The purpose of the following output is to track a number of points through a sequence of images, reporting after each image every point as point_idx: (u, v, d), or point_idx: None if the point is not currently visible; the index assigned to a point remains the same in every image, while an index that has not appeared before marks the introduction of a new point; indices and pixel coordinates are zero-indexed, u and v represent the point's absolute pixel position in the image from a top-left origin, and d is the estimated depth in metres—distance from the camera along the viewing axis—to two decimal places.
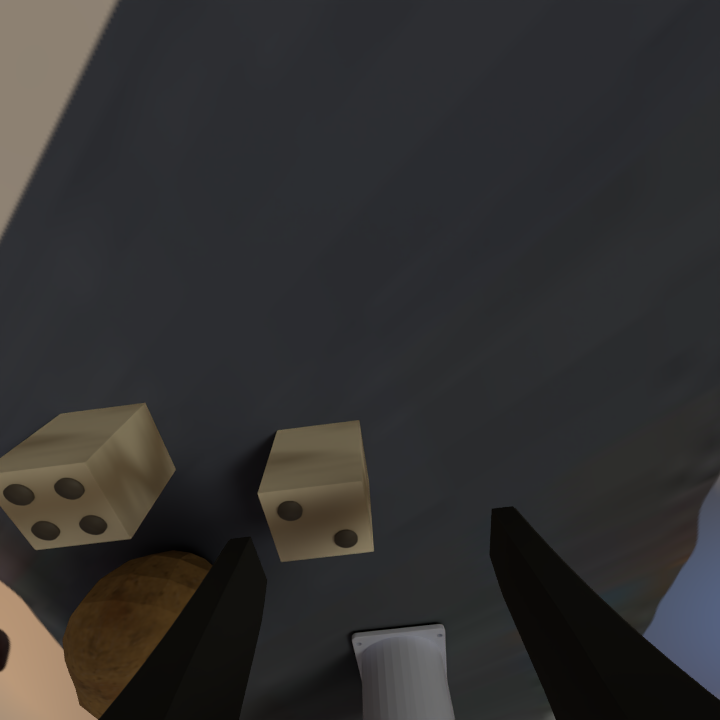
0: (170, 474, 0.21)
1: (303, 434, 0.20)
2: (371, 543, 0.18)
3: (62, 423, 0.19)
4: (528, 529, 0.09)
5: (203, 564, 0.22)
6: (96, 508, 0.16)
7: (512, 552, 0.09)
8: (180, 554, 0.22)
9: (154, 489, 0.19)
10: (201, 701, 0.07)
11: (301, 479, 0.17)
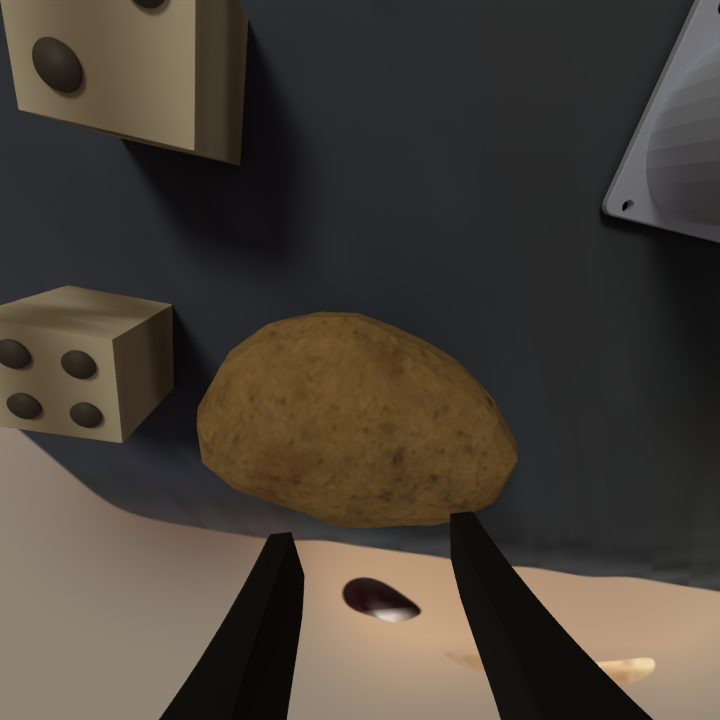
0: (163, 307, 0.17)
1: None
2: None
3: None
4: (482, 534, 0.09)
5: None
6: (50, 346, 0.13)
7: (465, 557, 0.09)
8: None
9: (136, 315, 0.15)
10: (259, 695, 0.07)
11: None
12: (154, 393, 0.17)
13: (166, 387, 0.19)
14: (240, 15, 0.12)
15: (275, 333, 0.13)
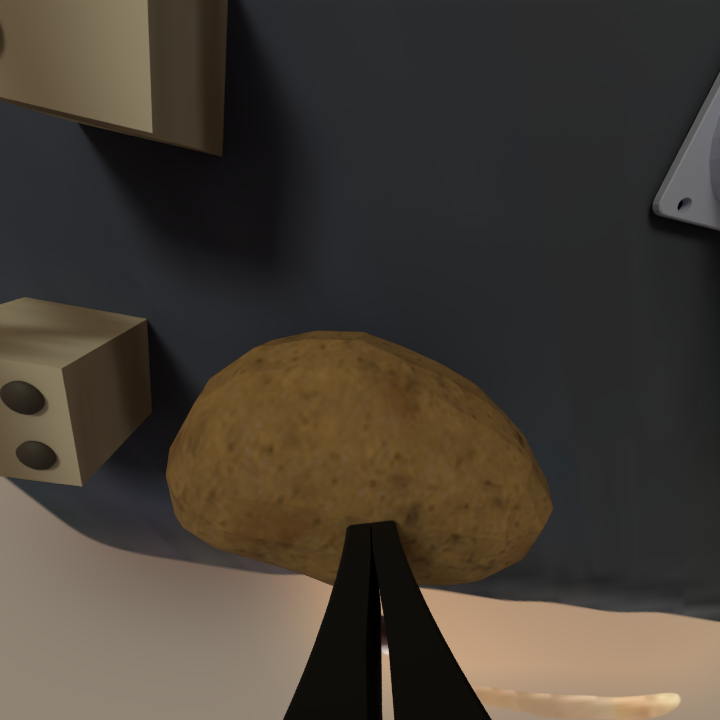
0: (135, 323, 0.15)
1: None
2: None
3: None
4: (394, 545, 0.09)
5: None
6: None
7: None
8: None
9: (99, 334, 0.13)
10: (371, 684, 0.07)
11: None
12: (126, 422, 0.15)
13: (141, 413, 0.16)
14: None
15: (263, 360, 0.11)
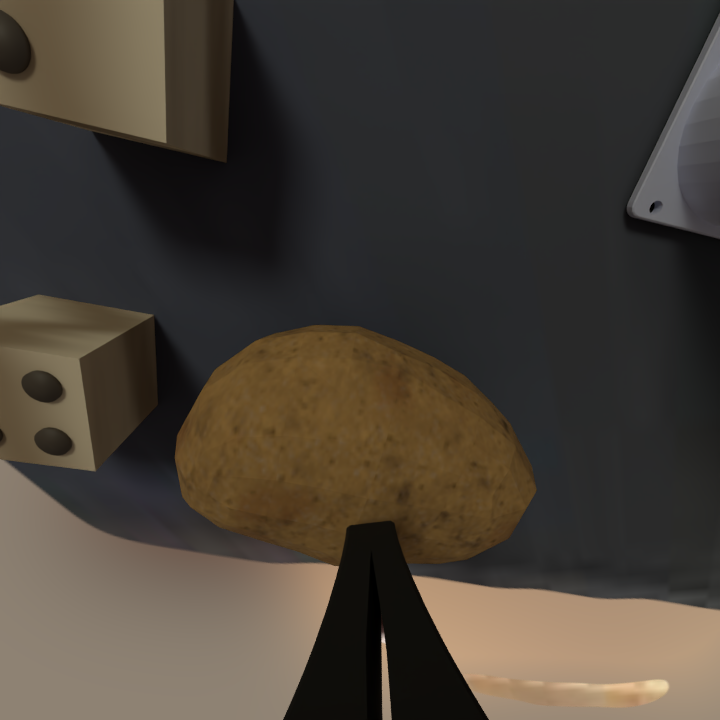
0: (143, 318, 0.15)
1: None
2: None
3: None
4: (392, 545, 0.09)
5: None
6: (9, 365, 0.12)
7: None
8: None
9: (110, 328, 0.14)
10: (372, 683, 0.07)
11: None
12: (134, 412, 0.16)
13: (149, 405, 0.17)
14: None
15: (264, 351, 0.11)
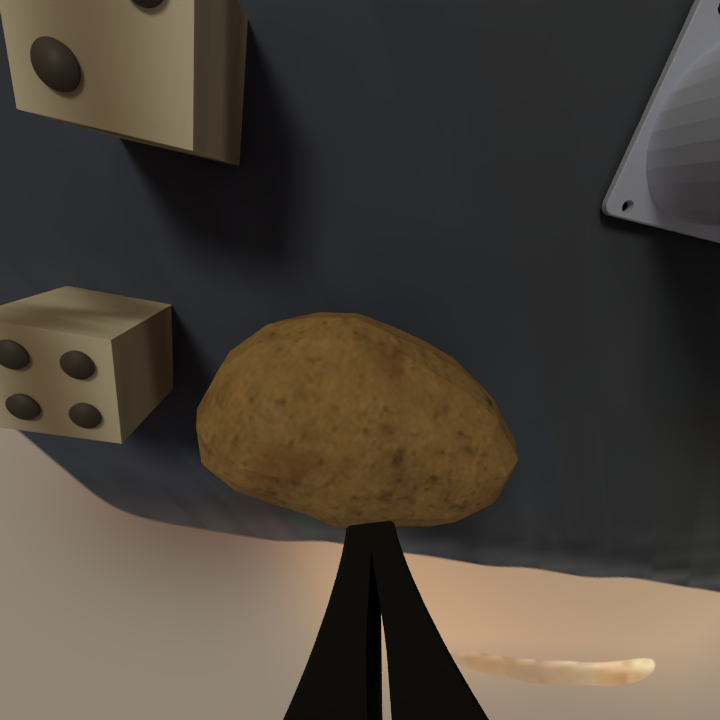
0: (162, 307, 0.17)
1: None
2: None
3: None
4: (392, 545, 0.09)
5: None
6: (49, 346, 0.13)
7: (374, 568, 0.09)
8: None
9: (134, 315, 0.15)
10: (372, 684, 0.07)
11: None
12: (154, 393, 0.17)
13: (165, 388, 0.19)
14: (240, 15, 0.12)
15: (275, 334, 0.13)
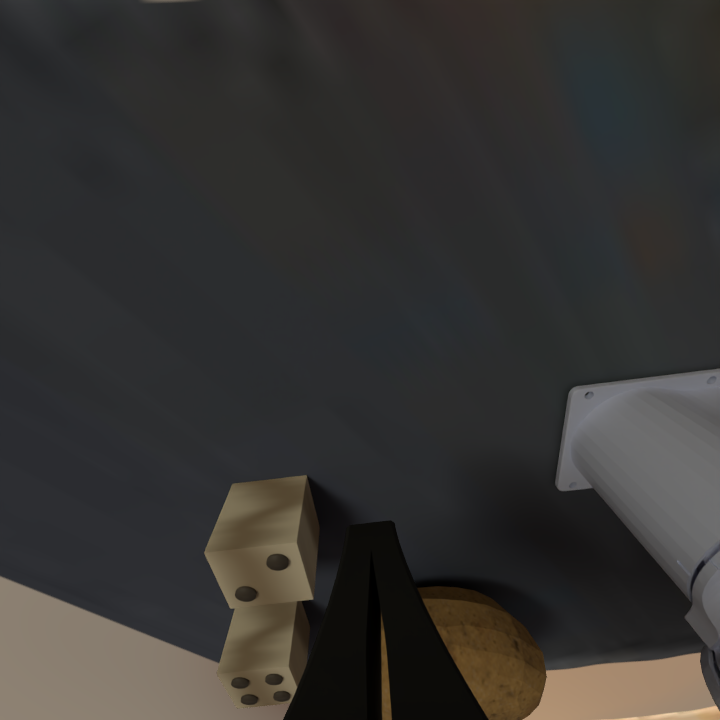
0: None
1: None
2: (285, 544, 0.18)
3: None
4: (392, 545, 0.09)
5: None
6: (257, 675, 0.24)
7: (374, 568, 0.09)
8: None
9: (286, 622, 0.26)
10: (372, 683, 0.07)
11: None
12: (305, 649, 0.28)
13: (307, 635, 0.29)
14: (305, 488, 0.22)
15: None
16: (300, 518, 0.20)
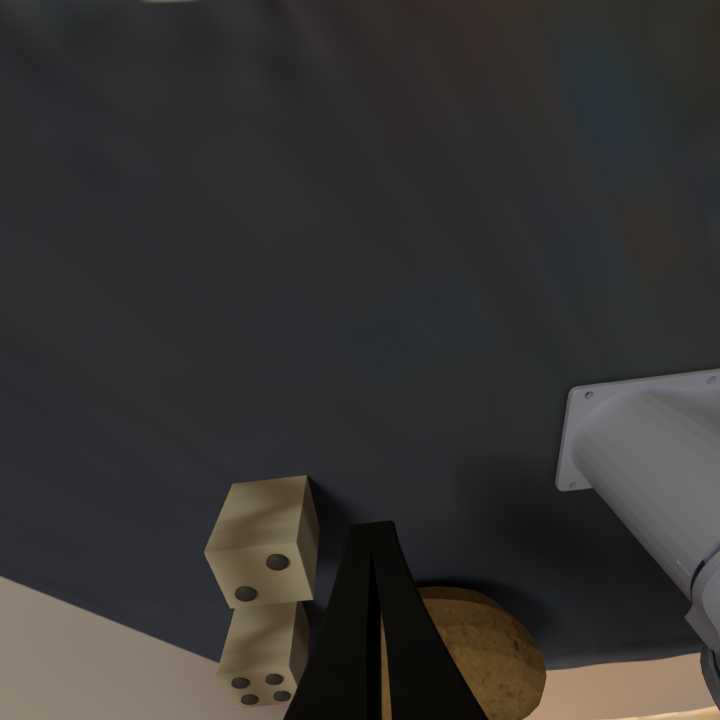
0: None
1: None
2: (284, 544, 0.18)
3: None
4: (392, 545, 0.09)
5: None
6: (258, 675, 0.24)
7: (374, 568, 0.09)
8: None
9: (286, 622, 0.26)
10: (372, 683, 0.07)
11: None
12: (305, 649, 0.28)
13: (307, 634, 0.29)
14: (305, 488, 0.22)
15: None
16: (300, 518, 0.20)
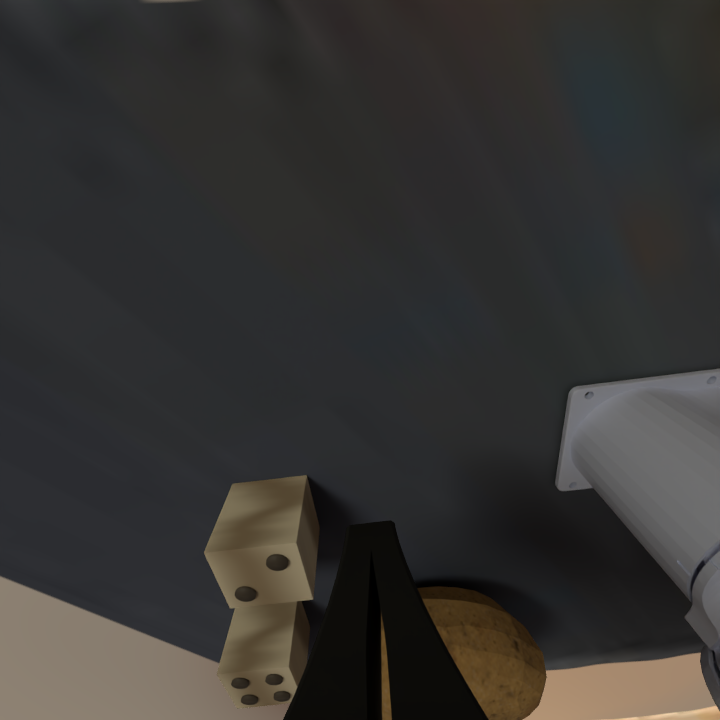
0: None
1: None
2: (284, 544, 0.18)
3: None
4: (392, 545, 0.09)
5: None
6: (258, 675, 0.24)
7: (374, 568, 0.09)
8: None
9: (286, 622, 0.26)
10: (372, 683, 0.07)
11: None
12: (305, 649, 0.28)
13: (307, 634, 0.29)
14: (305, 489, 0.22)
15: None
16: (300, 518, 0.20)
